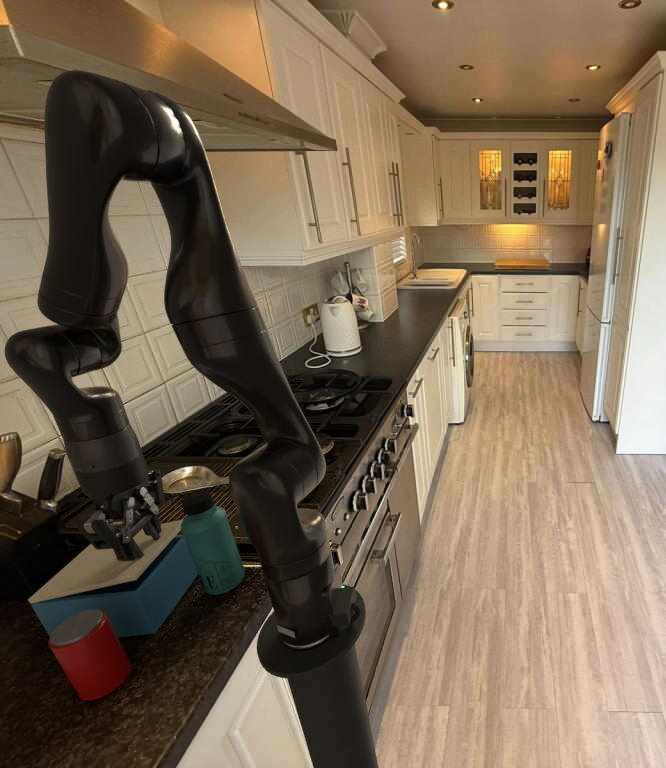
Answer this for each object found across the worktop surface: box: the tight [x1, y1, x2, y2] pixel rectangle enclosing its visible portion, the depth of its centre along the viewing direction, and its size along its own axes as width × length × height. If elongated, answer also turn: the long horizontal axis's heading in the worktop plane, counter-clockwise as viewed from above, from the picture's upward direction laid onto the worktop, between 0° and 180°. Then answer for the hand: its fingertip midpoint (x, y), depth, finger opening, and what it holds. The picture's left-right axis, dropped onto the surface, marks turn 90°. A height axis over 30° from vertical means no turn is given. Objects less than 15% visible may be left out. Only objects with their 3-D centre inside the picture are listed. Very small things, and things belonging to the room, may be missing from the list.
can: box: [48, 610, 132, 702], centre depth 57 cm, size 6×6×11 cm
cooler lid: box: [27, 512, 185, 604], centre depth 66 cm, size 15×13×6 cm
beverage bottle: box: [180, 490, 246, 596], centre depth 70 cm, size 6×7×20 cm
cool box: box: [30, 534, 199, 639], centre depth 69 cm, size 14×13×9 cm
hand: (142, 545), depth 67 cm, fingers closed on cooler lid, 5 cm apart
